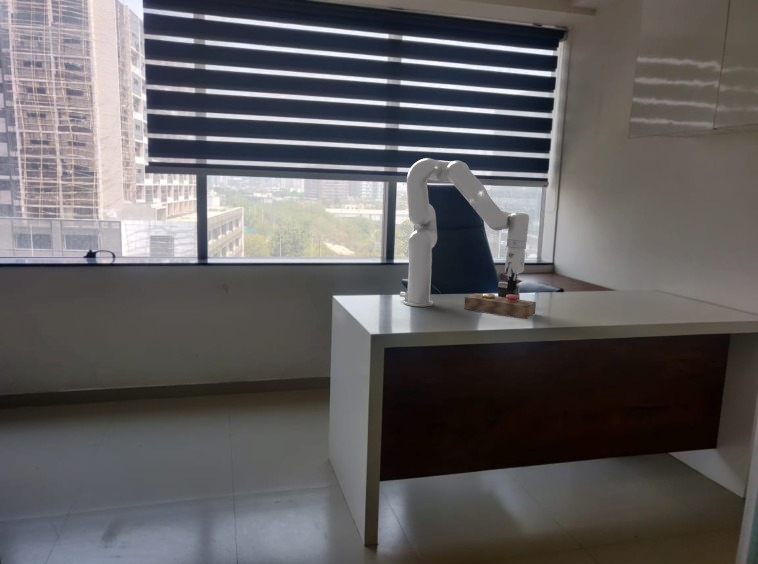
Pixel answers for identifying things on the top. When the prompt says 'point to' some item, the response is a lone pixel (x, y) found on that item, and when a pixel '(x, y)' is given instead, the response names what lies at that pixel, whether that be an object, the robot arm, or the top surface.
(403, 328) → the top surface
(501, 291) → the electrical switch
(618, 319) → the top surface
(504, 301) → the plug block
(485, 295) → the brass plug
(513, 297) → the oxblood plug
